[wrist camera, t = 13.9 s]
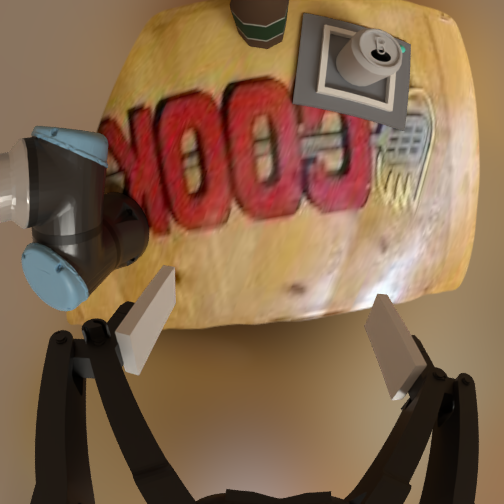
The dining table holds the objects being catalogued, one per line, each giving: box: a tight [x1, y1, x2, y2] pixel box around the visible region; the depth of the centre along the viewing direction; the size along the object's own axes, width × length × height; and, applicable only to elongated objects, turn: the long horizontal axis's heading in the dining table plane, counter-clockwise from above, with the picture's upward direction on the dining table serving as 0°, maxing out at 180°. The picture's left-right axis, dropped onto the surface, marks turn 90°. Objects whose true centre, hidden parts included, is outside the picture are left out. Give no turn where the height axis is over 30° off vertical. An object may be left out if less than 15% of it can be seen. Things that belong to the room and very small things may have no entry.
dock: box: [292, 13, 411, 131], centre depth 34 cm, size 20×18×2 cm
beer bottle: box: [230, 0, 289, 49], centre depth 23 cm, size 8×8×24 cm
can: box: [336, 28, 402, 86], centre depth 29 cm, size 8×8×12 cm
